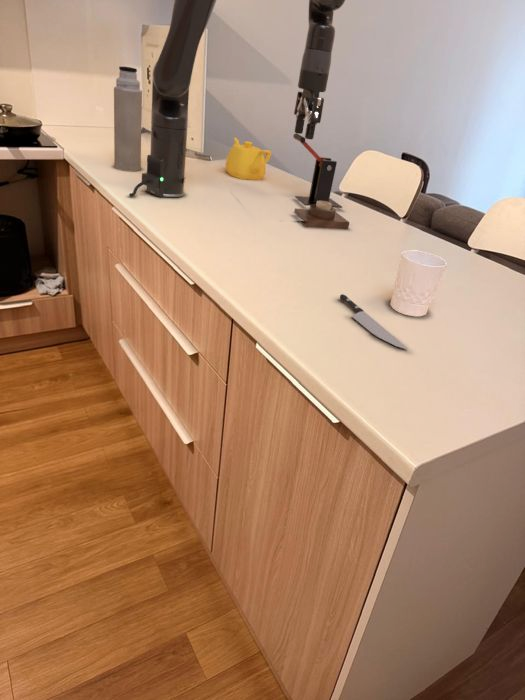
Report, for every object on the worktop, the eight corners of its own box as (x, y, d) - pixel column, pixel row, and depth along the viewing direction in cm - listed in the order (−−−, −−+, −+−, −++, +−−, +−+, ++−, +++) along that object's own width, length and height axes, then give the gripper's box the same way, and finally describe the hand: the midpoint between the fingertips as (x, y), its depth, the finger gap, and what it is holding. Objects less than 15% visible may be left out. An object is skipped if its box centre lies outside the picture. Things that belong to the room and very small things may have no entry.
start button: (318, 211, 132) (320, 204, 131) (313, 206, 135) (314, 200, 135) (332, 211, 133) (334, 205, 133) (326, 207, 137) (328, 201, 136)
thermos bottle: (123, 163, 163) (123, 65, 149) (145, 168, 162) (147, 69, 148) (109, 167, 157) (108, 64, 143) (132, 172, 155) (132, 68, 141)
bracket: (304, 208, 147) (313, 160, 140) (294, 199, 154) (302, 154, 147) (341, 210, 150) (351, 164, 144) (330, 202, 158) (339, 157, 151)
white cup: (381, 297, 97) (396, 247, 92) (420, 301, 98) (436, 252, 93) (394, 316, 90) (410, 263, 85) (435, 320, 91) (454, 268, 86)
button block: (306, 227, 130) (309, 212, 128) (293, 215, 138) (296, 200, 136) (347, 229, 134) (351, 214, 132) (333, 217, 142) (336, 203, 140)
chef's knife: (392, 354, 78) (408, 351, 79) (394, 348, 78) (409, 345, 79) (329, 299, 92) (342, 297, 94) (330, 294, 92) (343, 292, 93)
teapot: (283, 184, 170) (288, 150, 165) (241, 183, 163) (245, 147, 158) (253, 168, 186) (257, 137, 181) (215, 166, 179) (218, 134, 174)
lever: (298, 141, 138) (304, 134, 137) (291, 137, 143) (296, 130, 142) (329, 174, 145) (335, 168, 145) (321, 169, 150) (327, 163, 149)
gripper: (292, 66, 137) (282, 130, 145) (311, 69, 125) (299, 139, 133) (318, 70, 139) (307, 133, 147) (338, 74, 128) (325, 142, 136)
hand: (303, 136), depth 140 cm, fingers open, 8 cm apart
